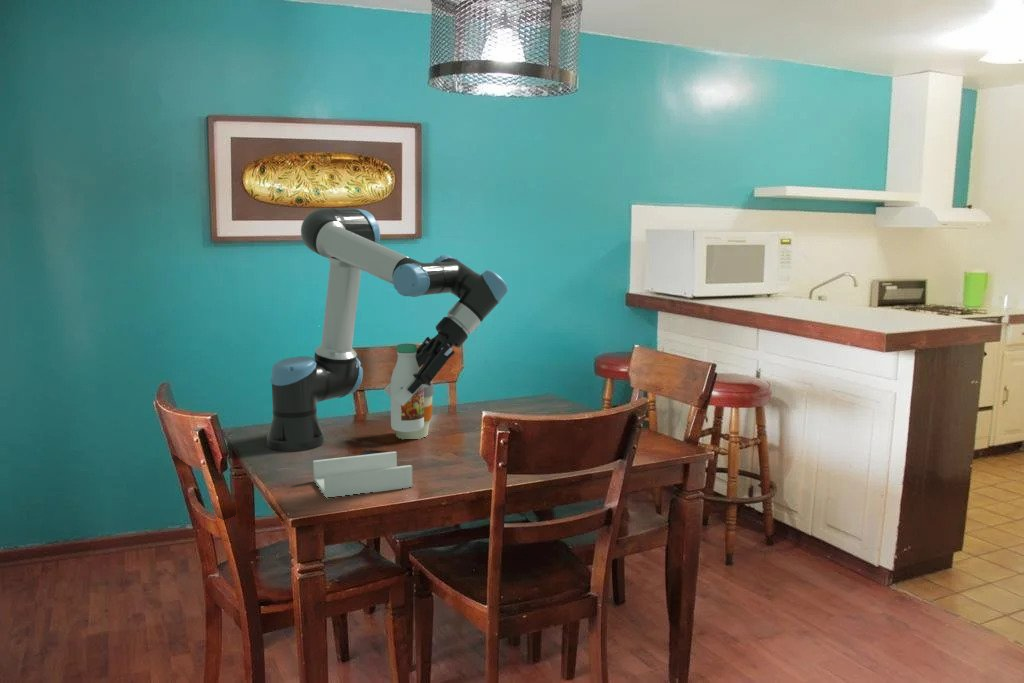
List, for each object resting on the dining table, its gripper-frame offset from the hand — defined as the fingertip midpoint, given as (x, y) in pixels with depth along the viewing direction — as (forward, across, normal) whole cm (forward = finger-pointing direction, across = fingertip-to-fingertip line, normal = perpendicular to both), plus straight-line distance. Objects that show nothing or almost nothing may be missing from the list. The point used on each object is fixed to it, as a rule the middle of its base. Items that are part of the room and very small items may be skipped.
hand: (393, 398), depth 191 cm
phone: (+15, +18, -14) cm, 28 cm away
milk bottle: (+3, 0, -8) cm, 9 cm away
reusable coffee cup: (+2, +37, -27) cm, 46 cm away
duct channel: (+19, +1, -9) cm, 21 cm away
